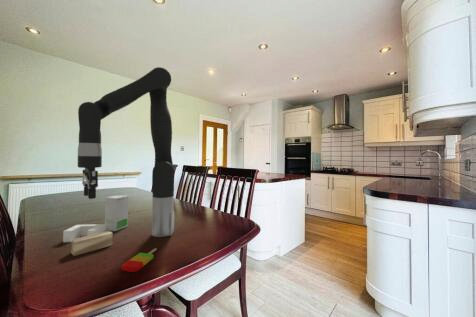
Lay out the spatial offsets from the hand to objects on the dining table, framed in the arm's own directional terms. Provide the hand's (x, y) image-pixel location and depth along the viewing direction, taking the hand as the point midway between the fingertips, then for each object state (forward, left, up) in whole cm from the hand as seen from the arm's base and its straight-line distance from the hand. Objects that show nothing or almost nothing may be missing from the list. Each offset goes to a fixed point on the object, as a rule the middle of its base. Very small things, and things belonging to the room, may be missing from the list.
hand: (89, 197), depth 78 cm
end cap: (+6, -9, -19) cm, 22 cm away
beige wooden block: (-3, +2, -19) cm, 20 cm away
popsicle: (-24, +12, -20) cm, 34 cm away
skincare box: (-1, -21, -19) cm, 29 cm away
